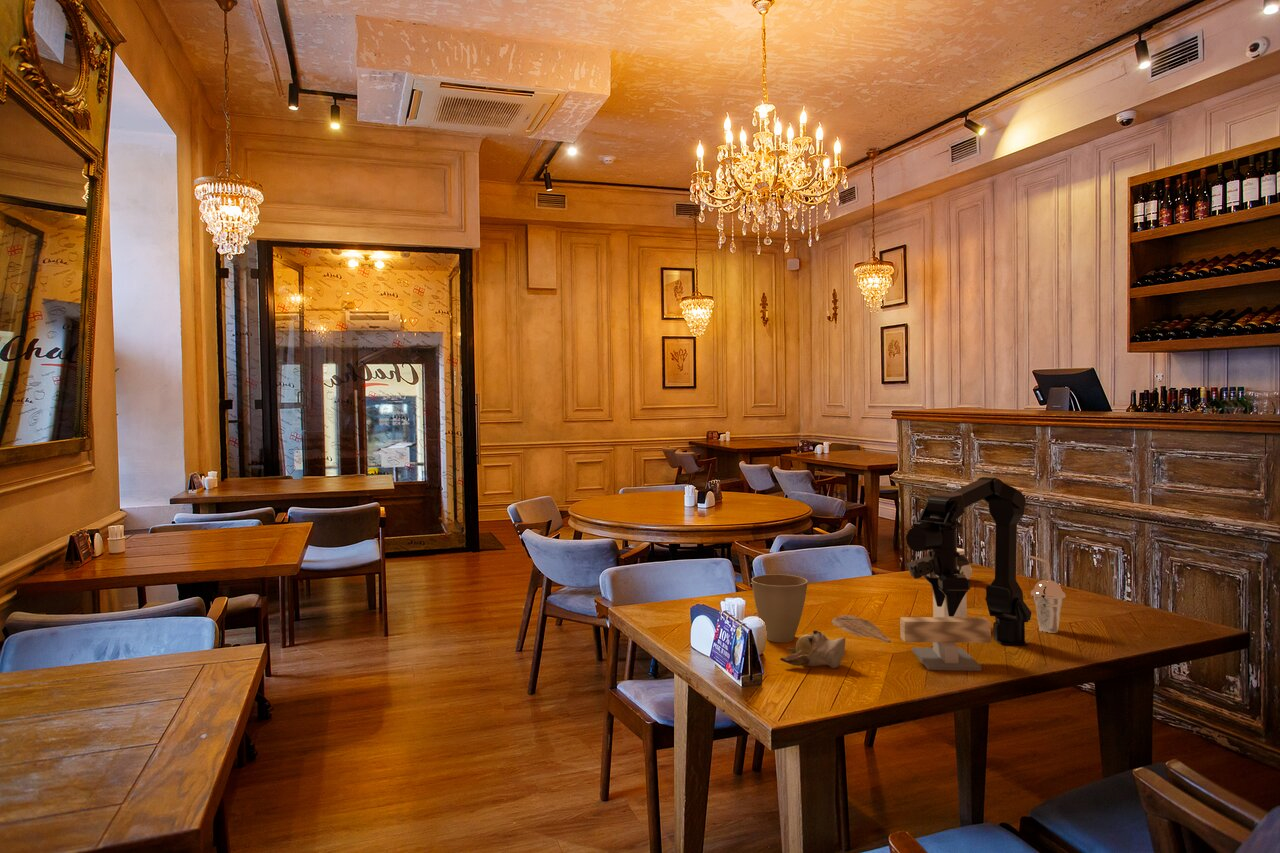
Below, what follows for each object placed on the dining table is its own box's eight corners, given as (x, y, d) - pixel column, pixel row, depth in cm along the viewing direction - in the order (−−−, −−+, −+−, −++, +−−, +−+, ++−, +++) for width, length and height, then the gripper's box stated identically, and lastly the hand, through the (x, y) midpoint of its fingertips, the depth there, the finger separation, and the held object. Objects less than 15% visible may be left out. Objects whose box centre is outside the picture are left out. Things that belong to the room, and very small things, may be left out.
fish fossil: (905, 642, 199) (905, 638, 199) (871, 649, 196) (871, 645, 196) (852, 616, 224) (851, 612, 224) (821, 622, 221) (821, 618, 221)
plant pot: (778, 650, 193) (777, 588, 193) (741, 636, 206) (740, 578, 205) (820, 640, 201) (819, 580, 201) (782, 627, 213) (781, 571, 213)
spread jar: (942, 584, 264) (941, 551, 264) (935, 577, 275) (934, 545, 275) (978, 585, 262) (978, 551, 262) (969, 578, 273) (969, 546, 273)
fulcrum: (961, 651, 189) (961, 632, 189) (981, 670, 175) (981, 649, 175) (912, 651, 190) (912, 631, 190) (928, 670, 176) (927, 648, 176)
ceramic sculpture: (842, 637, 174) (777, 635, 179) (845, 675, 174) (780, 672, 179) (847, 625, 184) (785, 624, 189) (850, 661, 183) (788, 659, 189)
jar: (973, 626, 212) (972, 583, 211) (950, 629, 209) (949, 586, 209) (950, 618, 220) (949, 577, 220) (927, 621, 217) (926, 579, 217)
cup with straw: (1045, 636, 201) (1044, 561, 201) (1022, 626, 210) (1021, 555, 210) (1073, 634, 202) (1072, 559, 202) (1050, 625, 211) (1049, 553, 211)
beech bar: (984, 637, 184) (984, 617, 184) (990, 642, 180) (990, 621, 180) (900, 637, 185) (900, 617, 185) (904, 642, 181) (904, 621, 181)
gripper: (900, 540, 193) (901, 601, 193) (920, 554, 174) (921, 621, 174) (945, 540, 192) (946, 601, 192) (970, 554, 173) (971, 621, 173)
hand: (945, 611), depth 183 cm, fingers open, 9 cm apart
